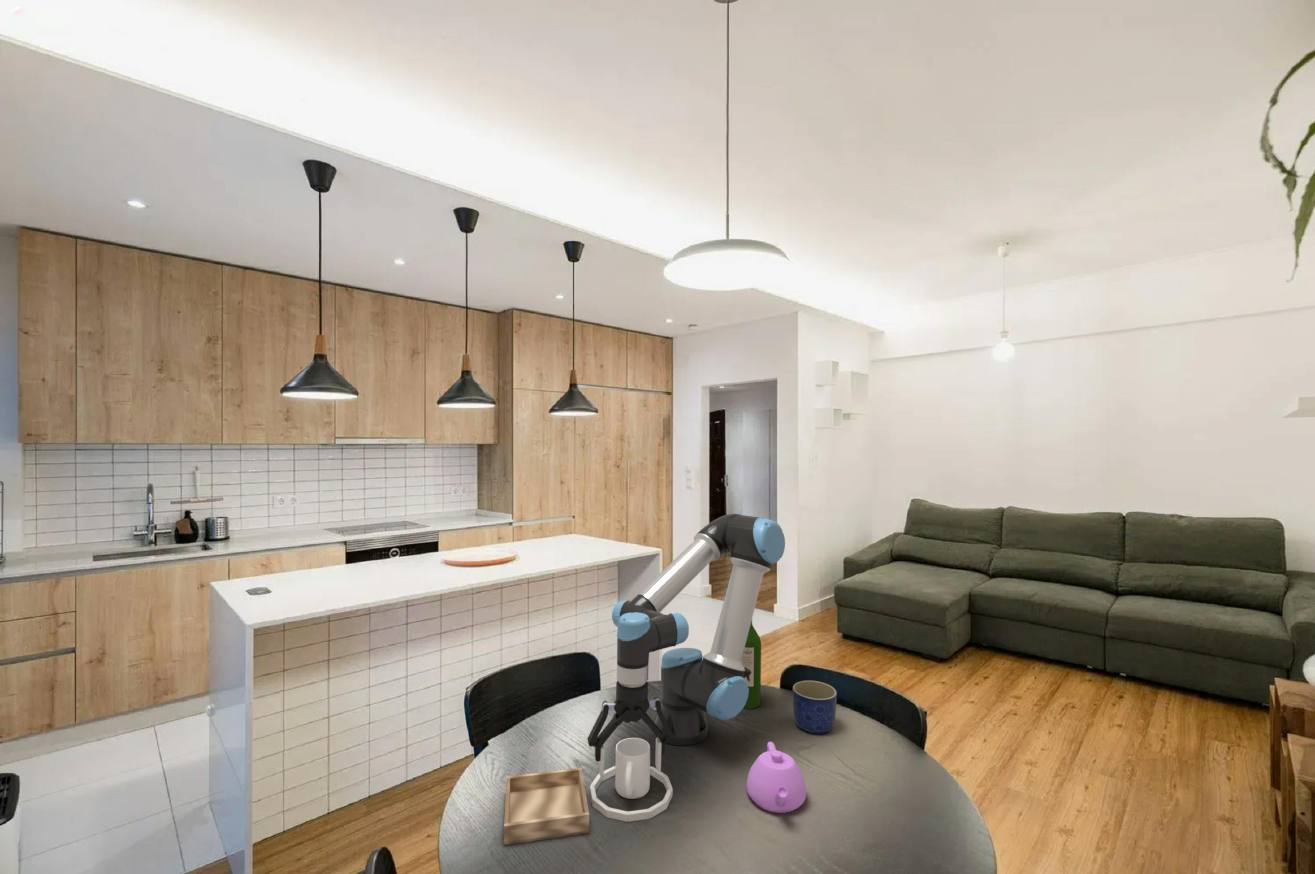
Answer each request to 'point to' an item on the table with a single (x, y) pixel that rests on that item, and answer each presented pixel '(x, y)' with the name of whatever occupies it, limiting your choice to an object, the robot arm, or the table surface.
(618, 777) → the mug
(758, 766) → the teapot
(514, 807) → the oak bin
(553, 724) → the table surface
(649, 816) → the socket ring
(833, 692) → the planter
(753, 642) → the wine bottle
